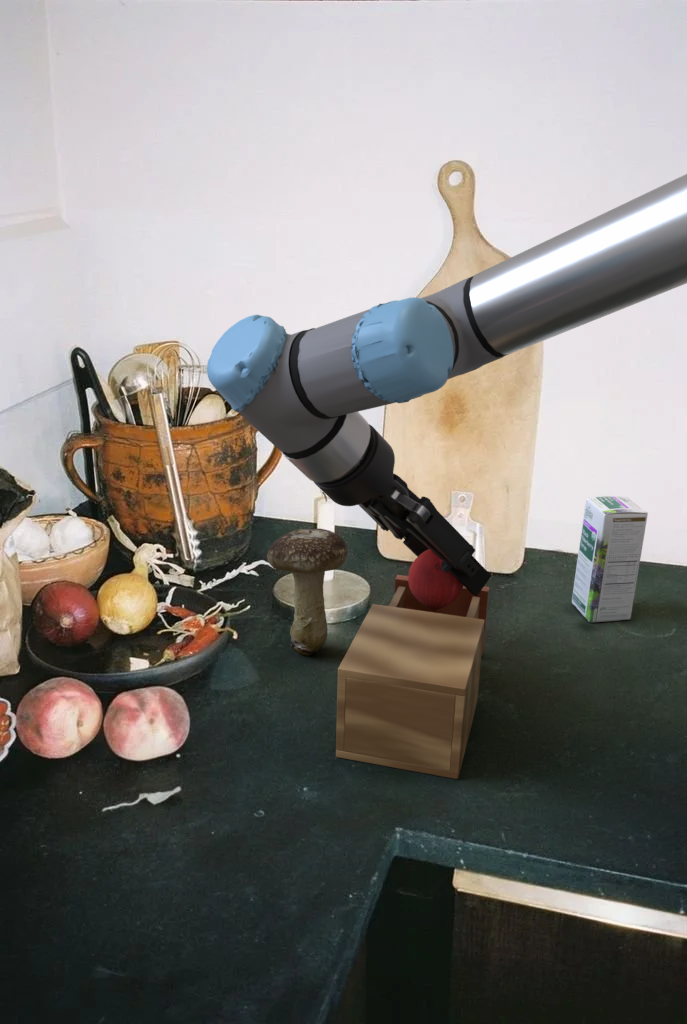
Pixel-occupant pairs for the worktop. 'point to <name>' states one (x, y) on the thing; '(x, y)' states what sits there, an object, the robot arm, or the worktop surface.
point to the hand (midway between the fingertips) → (461, 573)
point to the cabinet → (409, 690)
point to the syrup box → (608, 558)
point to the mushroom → (308, 580)
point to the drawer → (460, 607)
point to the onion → (432, 582)
